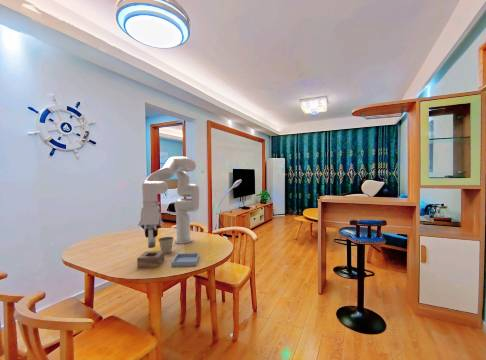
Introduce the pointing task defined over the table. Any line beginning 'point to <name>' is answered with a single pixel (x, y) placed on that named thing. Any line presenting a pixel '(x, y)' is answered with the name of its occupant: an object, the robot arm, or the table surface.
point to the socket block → (150, 259)
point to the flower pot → (166, 244)
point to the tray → (185, 259)
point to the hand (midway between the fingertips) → (151, 236)
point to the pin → (151, 236)
